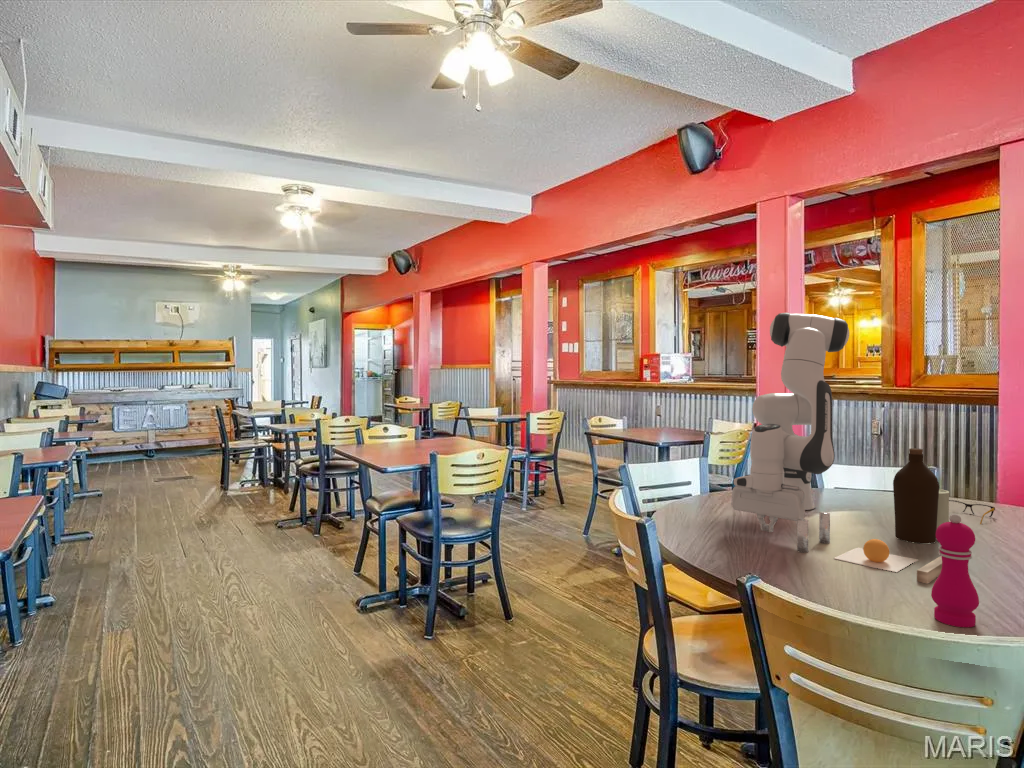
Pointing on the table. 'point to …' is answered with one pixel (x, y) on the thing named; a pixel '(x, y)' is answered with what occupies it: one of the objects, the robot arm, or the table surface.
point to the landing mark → (890, 564)
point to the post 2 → (824, 527)
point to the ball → (876, 550)
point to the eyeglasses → (977, 504)
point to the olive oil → (916, 500)
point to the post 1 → (802, 535)
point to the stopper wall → (930, 571)
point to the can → (943, 507)
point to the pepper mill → (955, 575)
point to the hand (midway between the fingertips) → (767, 530)
